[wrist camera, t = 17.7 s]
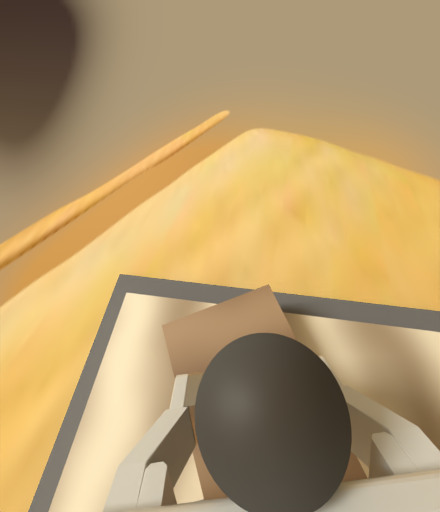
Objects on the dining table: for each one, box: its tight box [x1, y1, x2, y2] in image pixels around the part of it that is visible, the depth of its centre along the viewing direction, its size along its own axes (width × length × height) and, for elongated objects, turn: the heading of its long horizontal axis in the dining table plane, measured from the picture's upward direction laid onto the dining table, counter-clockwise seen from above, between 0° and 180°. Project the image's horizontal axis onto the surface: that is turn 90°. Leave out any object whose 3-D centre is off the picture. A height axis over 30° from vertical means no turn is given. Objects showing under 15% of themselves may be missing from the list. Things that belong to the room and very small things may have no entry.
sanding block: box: [162, 285, 367, 512], centre depth 9 cm, size 10×7×10 cm
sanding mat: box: [28, 274, 440, 512], centre depth 14 cm, size 26×23×1 cm
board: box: [48, 292, 440, 512], centre depth 13 cm, size 22×19×2 cm
